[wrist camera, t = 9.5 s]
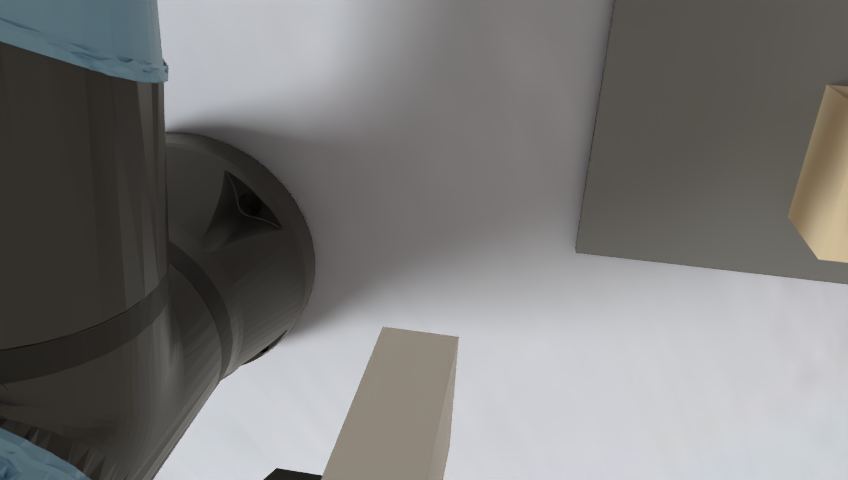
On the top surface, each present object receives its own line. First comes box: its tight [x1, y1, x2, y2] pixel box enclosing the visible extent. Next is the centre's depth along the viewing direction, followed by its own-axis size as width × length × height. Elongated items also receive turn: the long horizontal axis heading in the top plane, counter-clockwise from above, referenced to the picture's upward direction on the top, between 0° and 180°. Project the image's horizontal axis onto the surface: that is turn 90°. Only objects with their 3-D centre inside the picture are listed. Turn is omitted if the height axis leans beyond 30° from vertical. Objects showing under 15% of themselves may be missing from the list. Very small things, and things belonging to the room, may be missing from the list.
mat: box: [576, 0, 848, 284], centre depth 36 cm, size 24×16×1 cm, turn 87°
